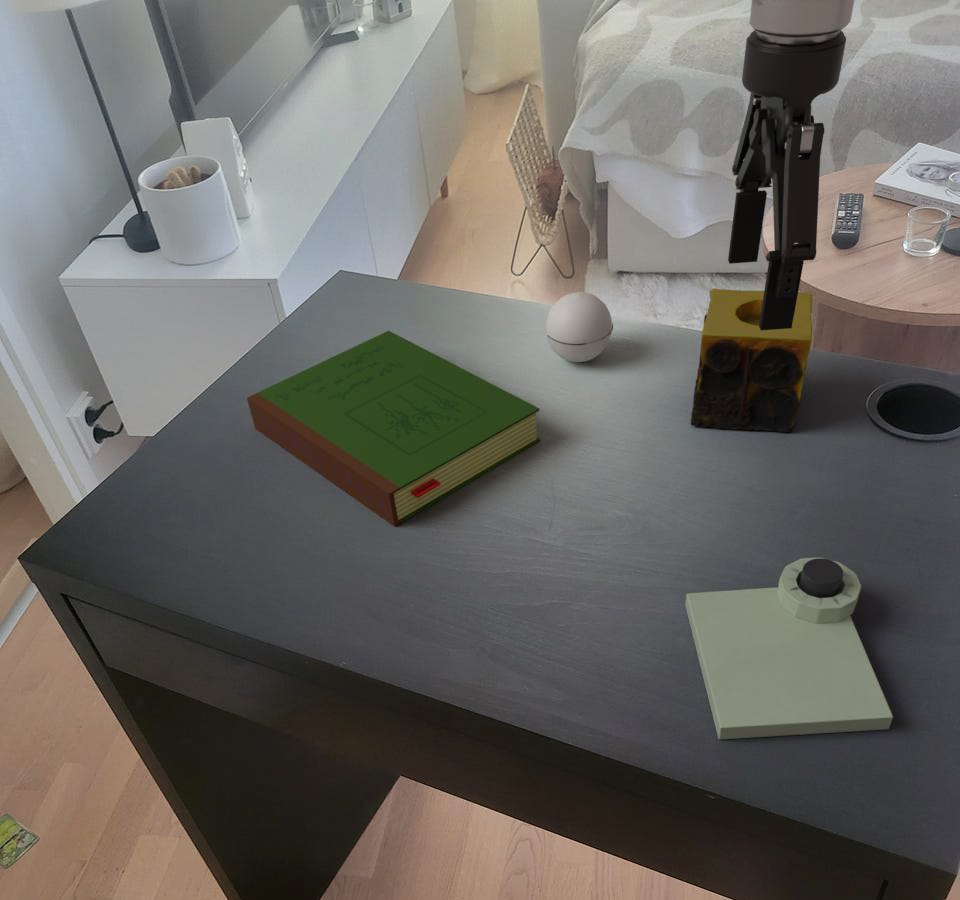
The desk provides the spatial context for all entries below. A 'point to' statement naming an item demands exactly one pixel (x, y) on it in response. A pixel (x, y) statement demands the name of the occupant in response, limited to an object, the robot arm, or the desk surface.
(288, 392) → the hardcover book
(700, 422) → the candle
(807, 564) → the button
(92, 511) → the desk surface
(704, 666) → the scale
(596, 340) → the white ball
